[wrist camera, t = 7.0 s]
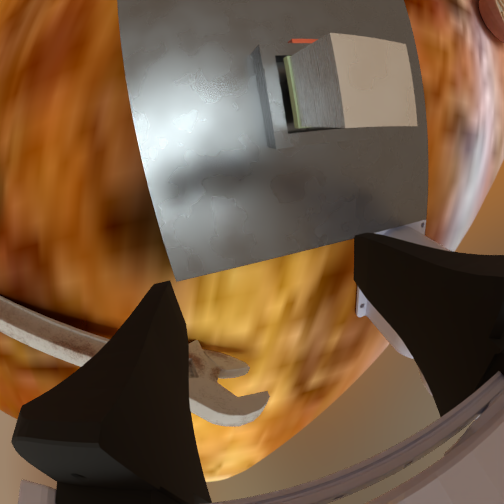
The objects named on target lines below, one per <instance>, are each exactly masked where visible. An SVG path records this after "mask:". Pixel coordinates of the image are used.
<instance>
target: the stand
mask: <svg viewBox="0 0 504 504" xmlns="http://www.w3.org/2000/svg"><path fill="white" fill-rule="evenodd" d="M117 2H118V16H119V27H120V37H121V46H122V54H123V61H124V68H125V75H126V82H127V88H128V94H129V100H130V105H131V111H132V116H133V121H134V126H135V131H136V136H137V141H138V145H139V150H140V154H141V159H142V163H143V167H144V171H145V175H146V179H147V183H148V187H149V191H150V195H151V199H152V202H153V206H154V210H155V213H156V217H157V221H158V224H159V227H160V231H161V234H162V238H163V241H164V244H165V248H166V251H167V254H168V257H169V260H170V263H171V267H172V270H173V273H174V276H175V279H176V282H177V281H181V280H186V279H190V278H194V277H198V276H202V275H207V274H211V273H215V272H219V271H223V270H228V269H232V268H236V267H240V266H244V265H248V264H252V263H256V262H261V261H265V260H269V259H273V258H277V257H281V256H285V255H289V254H293V253H297V252H301V251H305V250H309V249H313V248H317V247H321V246H325V245H329V244H333V243H337V242H341V241H345V240H349V239H353V238H354V236H355V235H359V234H363V233H367V232H368V233H376V232H380V231H384V230H388V229H392V228H395V227H399V226H403V225H407V224H411V223H414V222H418V221H422V220H426V215H427V198H428V138H427V121H426V110H425V100H424V92H423V84H422V77H421V71H420V65H419V60H418V54H417V50H416V45H415V40H414V36H413V32H412V28H411V24H410V20H409V17H408V13H407V10H406V6H405V3H404V0H117ZM328 33H338V34H348V35H357V36H364V37H371V38H377V39H383V40H388V41H393V42H398V43H403V44H406V47H407V52H408V57H409V62H410V68H411V74H412V81H413V88H414V95H415V104H416V114H417V126H381V127H357V128H333V127H308V128H299V129H298V128H295V126H294V119H293V112H292V106H291V100H290V93H289V87H288V81H287V76H286V70H285V65H284V59H283V58H285V57H286V56H292V55H294V54H295V53H297V52H298V51H300V50H301V49H303V48H305V47H306V46H308V45H310V44H311V43H313V42H315V41H316V40H318V39H320V38H321V37H323V36H325V35H327V34H328Z"/></svg>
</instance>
